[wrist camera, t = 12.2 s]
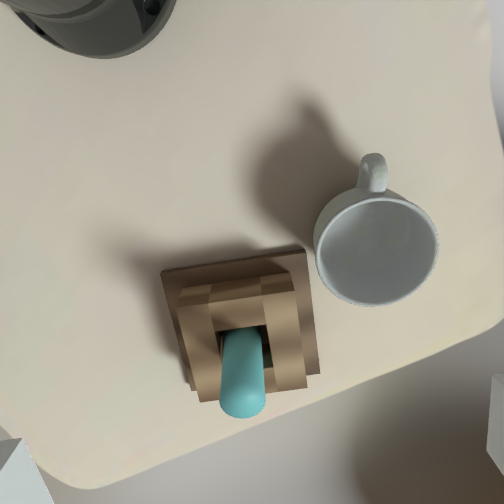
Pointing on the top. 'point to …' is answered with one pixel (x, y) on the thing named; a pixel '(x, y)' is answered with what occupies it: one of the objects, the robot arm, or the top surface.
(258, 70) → the top surface
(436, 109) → the top surface
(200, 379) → the socket
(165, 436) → the top surface
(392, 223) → the teacup
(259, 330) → the peg
